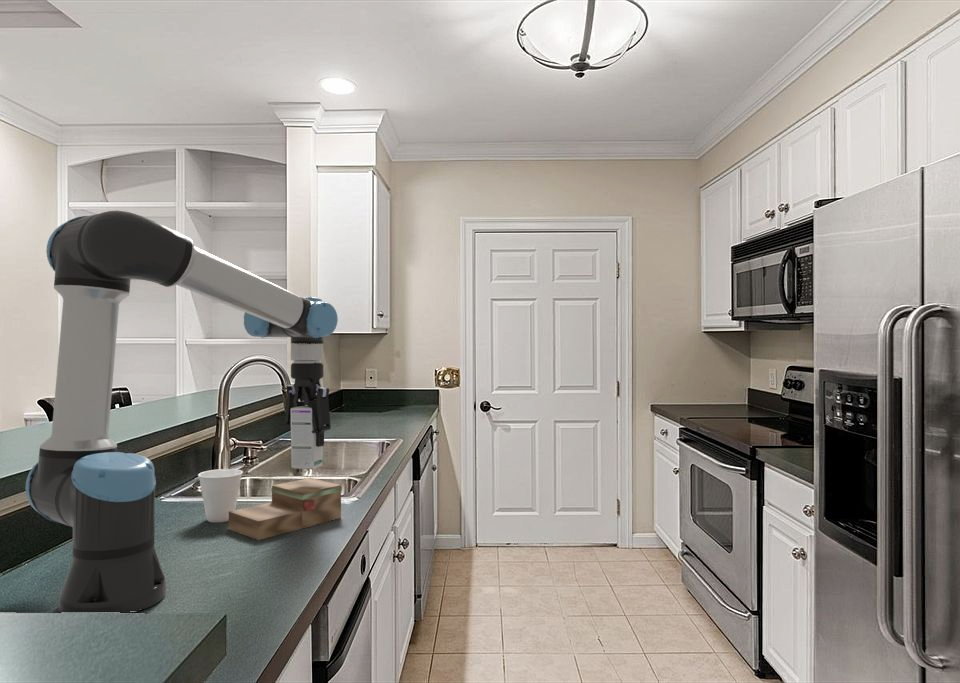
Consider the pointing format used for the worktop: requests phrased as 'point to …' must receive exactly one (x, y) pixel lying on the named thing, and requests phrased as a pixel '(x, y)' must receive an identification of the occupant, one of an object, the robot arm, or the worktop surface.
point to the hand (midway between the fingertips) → (307, 457)
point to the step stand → (289, 509)
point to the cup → (220, 492)
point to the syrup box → (302, 439)
